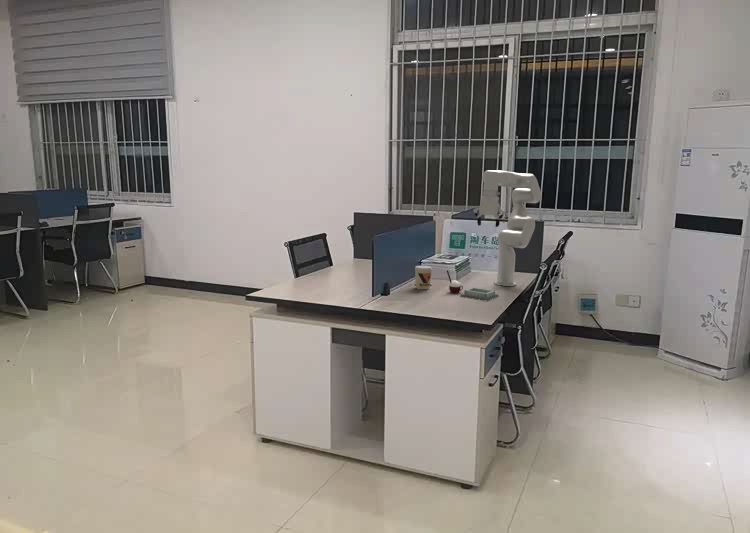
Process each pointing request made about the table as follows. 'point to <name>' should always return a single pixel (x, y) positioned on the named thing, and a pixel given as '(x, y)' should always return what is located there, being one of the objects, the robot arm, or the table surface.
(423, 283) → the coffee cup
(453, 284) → the cocoa
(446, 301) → the table surface
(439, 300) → the table surface
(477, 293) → the holder board
